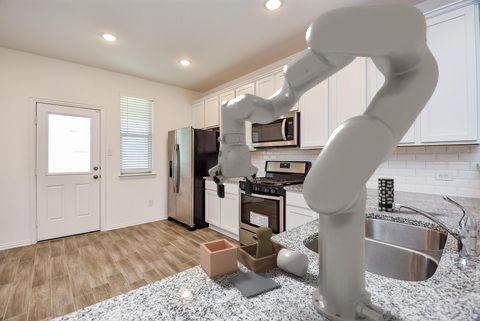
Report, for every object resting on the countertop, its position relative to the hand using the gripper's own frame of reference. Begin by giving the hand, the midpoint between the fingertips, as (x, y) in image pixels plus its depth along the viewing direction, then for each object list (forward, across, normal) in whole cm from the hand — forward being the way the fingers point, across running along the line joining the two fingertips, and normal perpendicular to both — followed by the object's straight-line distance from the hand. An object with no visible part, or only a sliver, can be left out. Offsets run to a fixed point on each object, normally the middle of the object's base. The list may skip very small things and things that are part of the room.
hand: (235, 196), depth 70 cm
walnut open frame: (+22, +9, -2) cm, 24 cm away
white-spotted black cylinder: (+23, +116, +13) cm, 119 cm away
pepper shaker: (+22, +9, -2) cm, 24 cm away
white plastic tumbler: (+22, +12, -12) cm, 28 cm away
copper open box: (+22, -6, +2) cm, 23 cm away
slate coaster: (+22, -1, -10) cm, 24 cm away
